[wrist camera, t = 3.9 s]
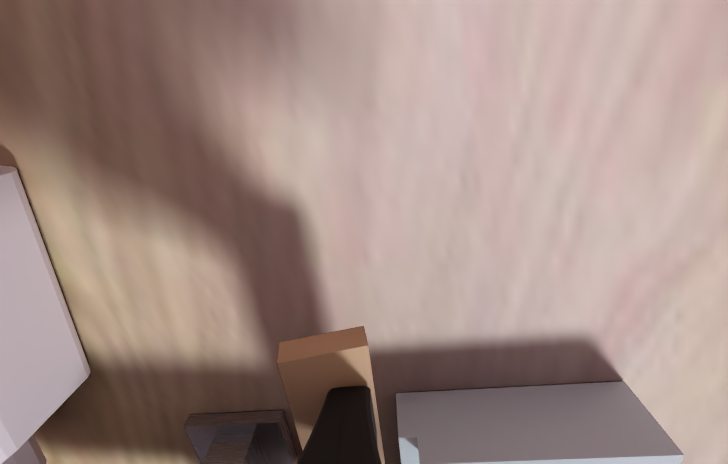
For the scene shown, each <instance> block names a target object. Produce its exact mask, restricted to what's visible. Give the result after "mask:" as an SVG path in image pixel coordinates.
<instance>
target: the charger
mask: <svg viewBox="0 0 728 464" xmlns="http://www.w3.org/2000/svg"><path fill="white" fill-rule="evenodd" d="M90 373H91V371H90V368H89V365H88V362H87V360H86V357H85V354H84V351H83V349H82V346H81V343H80V341H79V338H78V335H77V332H76V330H75V327H74V324H73V321H72V319H71V316H70V313H69V311H68V308H67V305H66V302H65V300H64V297H63V294H62V292H61V289H60V286H59V283H58V281H57V278H56V275H55V272H54V270H53V267H52V264H51V262H50V259H49V256H48V253H47V251H46V248H45V245H44V243H43V240H42V237H41V234H40V232H39V229H38V226H37V223H36V221H35V218H34V215H33V213H32V210H31V207H30V204H29V202H28V199H27V196H26V194H25V191H24V188H23V185H22V183H21V180H20V177H19V175H18V172H17V169H16V168H15V167H12V166H4V165H0V464H46V458H45V456H44V454H43V452H42V450H41V448H40V446H39V444H38V442H37V441H36V439H35V437H34V435H33V434H34V433H35V432H36V431H37V429H38V428H39V427H40V426H41V425H42V424H43V423H44V422H45V421H46V420H47V419H48V418H49V417H50V416H51V415H52V414H53V413H54V412H55V411H56V410H57V409H58V408H59V407H60V406H61V405H62V404H63V403H64V402H65V401H66V400H67V398H68V397H69V396H70V395H71V394H72V393H73V392H74V391H75V390H76V389H77V388H78V387H79V386H80V385H81V384H82V383H83V382H84V381H85V380H86V379H87V378H88V376H89V375H90Z"/></svg>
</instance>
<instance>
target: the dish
mask: <svg viewBox="0 0 728 464" xmlns="http://www.w3.org/2000/svg"><path fill="white" fill-rule="evenodd" d="M396 405H397V422H398V438H399V447H400V456H401V464H681V462H682V459H683V457H684V454H683V453H682V452H681V451H680V449H679V448H678V447H677V446H676V444H675V443H674V442H673V441H672V439H671V438H670V437H669V436H668V435H667V433H666V432H665V431H664V430H663V428H662V427H661V426H660V425H659V424H658V422H657V421H656V420H655V419H654V417H653V416H652V415H651V414H650V412H649V411H648V410H647V409H646V408H645V406H644V405H643V404H642V403H641V401H640V400H639V399H638V398H637V397H636V395H635V394H634V393H633V392H632V390H631V389H630V388H629V387H628V385H627V384H626V383H625V382H624V381H620V382H601V383H582V384H563V385H544V386H525V387H506V388H487V389H468V390H449V391H430V392H410V393H396Z"/></svg>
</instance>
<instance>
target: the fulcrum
mask: <svg viewBox="0 0 728 464" xmlns="http://www.w3.org/2000/svg"><path fill="white" fill-rule="evenodd" d="M184 429H185V431H186V433H187V435H188V437H189V439H190V441H191V443H192V445H193V447H194V449H195V451H196V453H197V455H198V457H199V459H200V461H201V463H202V464H297V462H298V459H297V456H296V453H295V449H294V446H293V443H292V439H291V436H290V433H289V430H288V426H287V423H286V420H285V417H284V413H283V410H277V411H257V412H237V413H217V414H197V415H190V416H189V418H188V420H187V422H186V424H185V425H184Z"/></svg>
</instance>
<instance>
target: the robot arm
mask: <svg viewBox="0 0 728 464" xmlns="http://www.w3.org/2000/svg"><path fill="white" fill-rule="evenodd" d="M297 464H382V463H381V459H380V455H379V451H378V446H377V430H376V423H375V416H374V409H373V403H372V396H371V389H370V388H369V387H367V386H352V387H338V388H332V389H331V390H330V391H329V392H328V393H327V396H326V399H325V402H324V404H323V407H322V409H321V412H320V414H319V417H318V419H317V421H316V424H315V426H314V428H313V430H312V433H311V435H310V437H309V439H308V441H307V443H306V445H305V447H304V449H303V452H302V454H301V456H300V458H299V460H298V462H297Z"/></svg>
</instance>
